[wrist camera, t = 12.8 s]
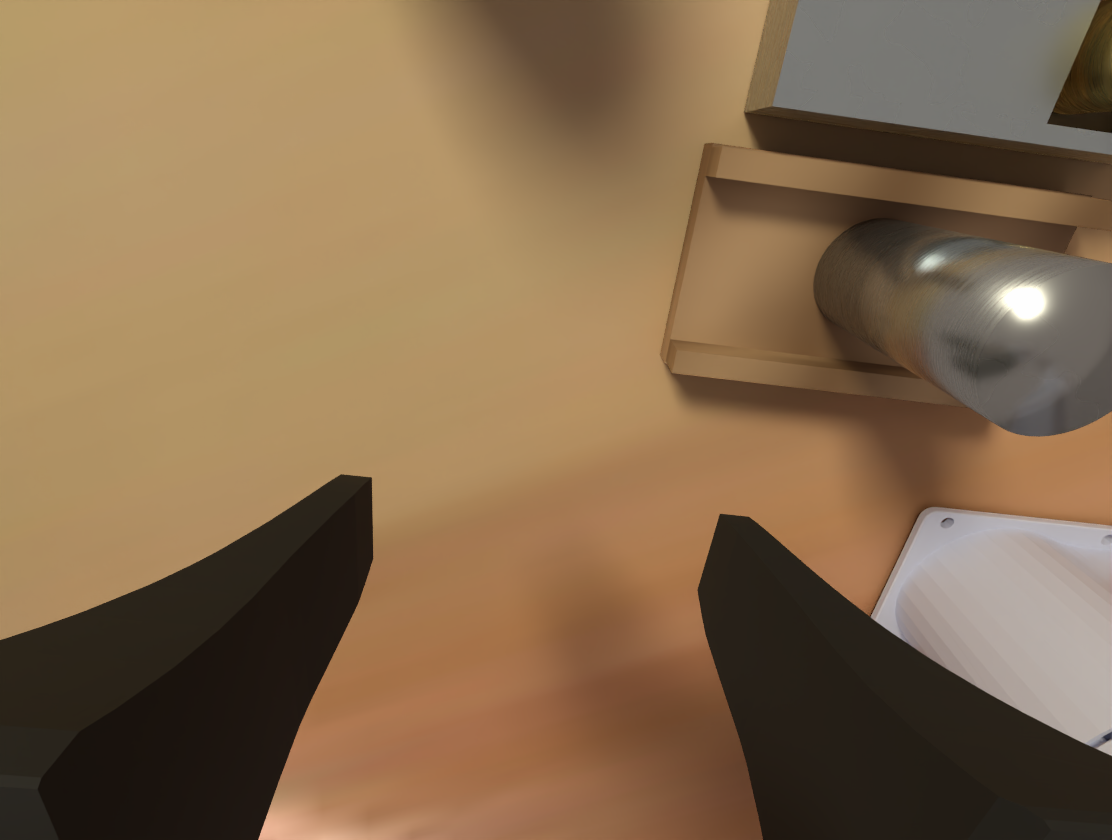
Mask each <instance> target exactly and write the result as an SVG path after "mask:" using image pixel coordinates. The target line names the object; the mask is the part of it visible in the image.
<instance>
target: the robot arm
mask: <svg viewBox="0 0 1112 840" xmlns="http://www.w3.org/2000/svg"><path fill="white" fill-rule="evenodd" d="M946 518H947V519H946ZM944 519H946V520H945V521H944V522H942V521H943V520H944ZM372 561H373V523H372V478H371V477H361V476H351V475H342V474H341V475H340V476H338V477H336V478H335V479H333V480H331V481H330V482H328V483H327V484H325V485H324V486H322V487H321V488H319V489H318V490H316V491H315V492H313V493H312V494H310V495H309V496H307V497H306V498H304V499H303V500H301V501H300V502H298V503H297V504H295V505H294V506H292V507H290V508H289V509H287V510H286V511H284V512H283V513H281V514H280V515H278V516H276V517H275V518H273V519H272V520H270V521H269V522H267V523H265V524H264V525H262V526H260V527H259V528H257V529H255V530H254V531H252V532H250V533H248V534H247V535H245V536H243V537H242V538H240V539H238V540H236V541H235V542H233V543H231V544H230V545H228V546H226V547H224V548H223V549H221V550H219V551H217V552H216V553H214V554H212V555H210V556H208V557H206V558H204V559H202V560H200V561H198V562H196V563H194V564H193V565H191V566H188V567H186V568H184V569H182V570H180V571H178V572H176V573H174V574H172V575H170V576H168V577H165V578H163V579H161V580H159V581H157V582H155V583H152V584H150V585H148V586H146V587H143V588H141V589H138V590H136V591H133V592H131V593H128V594H126V595H123V596H121V597H119V598H116V599H114V600H111V601H109V602H106V603H104V604H101V605H99V606H97V607H94V608H92V609H89V610H87V611H84V612H81V613H79V614H76V615H73V616H70V617H68V618H65V619H62V620H59V621H56V622H54V623H51V624H48V625H45V626H42V627H39V628H36V629H33V630H30V631H27V632H24V633H21V634H18V635H15V636H12V637H9V638H6V639H3V640H0V840H258V838H259V836H260V833H261V830H262V827H263V824H264V821H265V819H266V816H267V813H268V810H269V807H270V805H271V802H272V799H273V796H274V793H275V790H276V788H277V785H278V782H279V779H280V777H281V774H282V771H283V769H284V766H285V763H286V761H287V758H288V755H289V753H290V750H291V747H292V745H293V742H294V739H295V736H296V734H297V731H298V729H299V726H300V724H301V721H302V719H303V717H304V715H305V712H306V710H307V708H308V706H309V703H310V701H311V699H312V697H313V695H314V693H315V691H316V689H317V687H318V685H319V683H320V681H321V679H322V677H323V675H324V673H325V671H326V669H327V666H328V664H329V662H330V660H331V658H332V656H333V654H334V652H335V650H336V648H337V646H338V644H339V642H340V640H341V638H342V636H343V634H344V632H345V630H346V628H347V626H348V623H349V621H350V619H351V617H352V615H353V613H354V611H355V609H356V607H357V605H358V602H359V600H360V597H361V594H362V591H363V588H364V585H365V582H366V579H367V576H368V573H369V570H370V567H371V564H372ZM698 595H699V601H700V607H701V613H702V618H703V623H704V628H705V633H706V637H707V640H708V644H709V647H710V650H711V653H712V656H713V659H714V662H715V665H716V669H717V672H718V675H719V678H720V681H721V684H722V687H723V690H724V693H725V696H726V699H727V702H728V705H729V708H730V711H731V714H732V717H733V720H734V723H735V726H736V729H737V732H738V735H739V738H740V742H741V745H742V749H743V752H744V756H745V759H746V763H747V767H748V771H749V776H750V780H751V785H752V789H753V794H754V798H755V802H756V807H757V811H758V816H759V821H760V826H761V831H762V836H763V840H1112V526H1110V525H1101V524H1091V523H1082V522H1073V521H1063V520H1054V519H1045V518H1035V517H1026V516H1017V515H1007V514H998V513H988V512H979V511H970V510H960V509H951V508H942V507H930V508H927V509H925V510H923V511H922V512H921V513H920V515H919V517H918V519H917V521H916V523H915V525H914V527H913V529H912V531H911V533H910V535H909V538H908V540H907V542H906V544H905V546H904V548H903V550H902V552H901V554H900V556H899V558H898V561H897V563H896V565H895V567H894V569H893V571H892V573H891V575H890V577H889V579H888V582H887V584H886V586H885V588H884V590H883V592H882V594H881V596H880V598H879V600H878V603H877V605H876V607H875V609H874V611H873V613H872V615H871V617H869V616H868V615H867V614H866V613H864V612H863V611H862V610H860V609H859V608H858V607H856V606H855V605H854V604H853V603H851V602H850V601H849V600H847V599H846V598H845V597H844V596H842V595H841V594H840V593H839V592H837V591H836V590H835V589H834V588H832V587H831V586H830V585H829V584H828V583H826V582H825V581H824V580H823V579H822V578H820V577H819V576H818V575H817V574H816V573H815V572H813V571H812V570H811V569H810V568H809V567H807V566H806V565H805V564H804V563H803V562H802V561H801V560H799V559H798V558H797V557H796V556H795V555H794V554H793V553H791V552H790V551H789V550H788V549H787V548H786V547H785V546H783V545H782V544H781V543H780V542H779V541H778V540H777V539H775V538H774V537H773V536H772V535H771V534H770V533H768V532H767V531H766V530H765V529H764V528H762V527H761V526H760V525H759V524H758V523H756V522H755V521H754V520H752V519H751V518H750V517H745V516H736V515H726V514H720V516H719V519H718V523H717V526H716V529H715V533H714V536H713V539H712V543H711V546H710V550H709V553H708V556H707V560H706V563H705V567H704V570H703V573H702V577H701V580H700V583H699V587H698Z"/></svg>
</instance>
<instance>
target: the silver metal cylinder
mask: <svg viewBox="0 0 1112 840" xmlns="http://www.w3.org/2000/svg"><path fill="white" fill-rule="evenodd" d="M813 292H814V298H815V301H816V304H817V306H818V308H819V310H820V311H821V313H822V314H823V315H824V316H825V317H826V318H827V319H828V320H829V321H830V322H832V323H833V324H835V325H837V326H838V327H840V328H841V329H843V330H845V331H846V332H848V333H850V334H851V335H853V336H854V337H856V338H858V339H859V340H861V341H862V342H864V343H866V344H867V345H869V346H871V347H872V348H874V349H875V350H877V351H879V352H880V353H882V354H883V355H885V356H887V357H888V358H890V359H891V360H893V361H895V362H896V363H898V364H900V365H901V366H903V367H904V368H906V369H908V370H909V371H911V372H912V373H914V374H916V375H917V376H919V377H921V378H922V379H924V380H925V381H927V382H929V383H930V384H932V385H933V386H935V387H937V388H938V389H940V390H941V391H943V392H945V393H946V394H948V395H950V396H951V397H953V398H954V399H956V400H958V401H959V402H961V403H962V404H964V405H966V406H967V407H969V408H971V409H972V410H974V411H975V412H977V413H979V414H980V415H982V416H983V417H985V418H987V419H988V420H990V421H991V422H993V423H995V424H996V425H998V426H1000V427H1001V428H1003V429H1005V430H1007V431H1010V432H1013V433H1016V434H1020V435H1025V436H1051V435H1056V434H1062V433H1065V432H1069V431H1072V430H1075V429H1078V428H1081V427H1083V426H1086V425H1088V424H1090V423H1092V422H1094V421H1096V420H1098V419H1100V418H1101V417H1103V416H1105V415H1106V414H1108V413H1109V412H1111V411H1112V263H1107V262H1102V261H1097V260H1092V259H1087V258H1082V257H1077V256H1072V255H1067V254H1062V253H1058V252H1053V251H1048V250H1043V249H1038V248H1033V247H1028V246H1023V245H1018V244H1013V243H1008V242H1003V241H998V240H994V239H989V238H984V237H979V236H974V235H969V234H964V233H959V232H954V231H949V230H944V229H939V228H935V227H930V226H925V225H920V224H915V223H910V222H905V221H900V220H895V219H890V218H875V219H870V220H866V221H863V222H860V223H858V224H856V225H854V226H852V227H850V228H848V229H847V230H845V231H844V232H843V233H841V234H840V235H839V236H838V237H837V238H836V239H834V240H833V241H832V243H831V244H830V245H829V246H828V247H827V249H826V250H825V252H824V253H823V255H822V257H821V259H820V261H819V263H818V265H817V268H816V271H815V275H814V282H813Z"/></svg>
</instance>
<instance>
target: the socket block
mask: <svg viewBox="0 0 1112 840" xmlns="http://www.w3.org/2000/svg"><path fill="white" fill-rule="evenodd" d="M1100 1H1101V0H770V3H769V8H768V12H767V16H766V21H765V25H764V29H763V34H762V38H761V42H760V46H759V51H758V55H757V59H756V64H755V68H754V72H753V76H752V81H751V85H750V89H749V94H748V98H747V102H746V106H745V111H744V112H746V113H753V114H760V115H767V116H774V117H781V118H788V119H795V120H802V121H809V122H816V123H823V124H830V125H837V126H844V127H851V128H859V129H866V130H873V131H880V132H887V133H894V134H901V135H908V136H915V137H922V138H929V139H936V140H943V141H950V142H957V143H964V144H971V145H978V146H985V147H992V148H999V149H1006V150H1013V151H1020V152H1027V153H1034V154H1041V155H1048V156H1055V157H1062V158H1069V159H1076V160H1084V161H1091V162H1098V163H1105V164H1112V131H1111V133H1107V132H1100V131H1093V130H1086V129H1079V128H1072V127H1066V126H1059V125H1052V124H1047V122H1048V120H1049V118H1050V115H1051V113H1052V111H1053V108H1054V106H1055V104H1056V101H1057V99H1058V97H1059V95H1060V92H1061V90H1062V88H1063V85H1064V83H1065V81H1066V79H1067V76H1068V74H1069V72H1070V69H1071V67H1072V65H1073V63H1074V60H1075V58H1076V56H1077V53H1078V51H1079V49H1080V47H1081V44H1082V42H1083V40H1084V37H1085V35H1086V33H1087V31H1088V28H1089V26H1090V24H1091V21H1092V19H1093V17H1094V15H1095V12H1096V10H1097V8H1098V5H1099V3H1100Z"/></svg>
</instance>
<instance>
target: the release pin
mask: <svg viewBox="0 0 1112 840" xmlns="http://www.w3.org/2000/svg"><path fill="white" fill-rule="evenodd" d="M1108 111H1112V0H1105V1H1101V2H1100V3H1099V5H1098V8H1097V10H1096V12H1095V15H1094V17H1093V19H1092V21H1091V24H1090V26H1089V28H1088V31H1087V33H1086V35H1085V37H1084V40H1083V42H1082V44H1081V47H1080V49H1079V51H1078V53H1077V56H1076V58H1075V60H1074V63H1073V65H1072V67H1071V69H1070V72H1069V74H1068V76H1067V79H1066V81H1065V83H1064V85H1063V88H1062V90H1061V92H1060V95H1059V97H1058V99H1057V101H1056V104H1055V106H1054V108H1053V112H1055V113H1059V114H1067V115H1068V114H1081V113H1094V112H1108Z"/></svg>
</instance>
